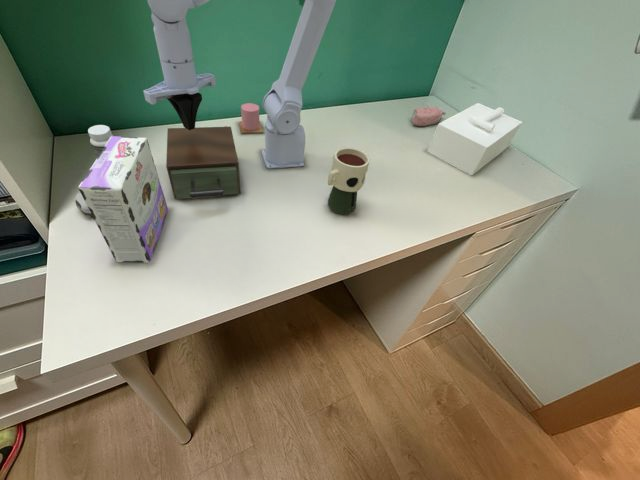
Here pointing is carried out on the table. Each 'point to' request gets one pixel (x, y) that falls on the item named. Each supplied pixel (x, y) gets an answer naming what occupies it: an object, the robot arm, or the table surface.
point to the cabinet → (200, 149)
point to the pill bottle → (99, 137)
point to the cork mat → (244, 131)
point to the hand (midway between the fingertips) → (189, 127)
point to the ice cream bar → (426, 116)
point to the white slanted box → (473, 137)
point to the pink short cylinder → (250, 116)
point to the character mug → (346, 178)
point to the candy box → (126, 198)
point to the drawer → (204, 182)
